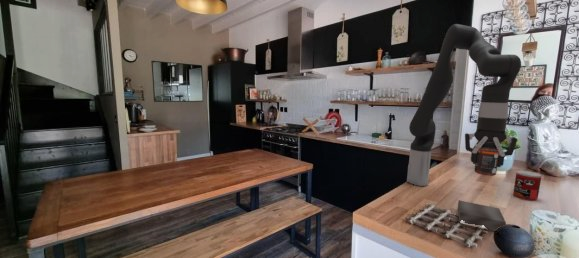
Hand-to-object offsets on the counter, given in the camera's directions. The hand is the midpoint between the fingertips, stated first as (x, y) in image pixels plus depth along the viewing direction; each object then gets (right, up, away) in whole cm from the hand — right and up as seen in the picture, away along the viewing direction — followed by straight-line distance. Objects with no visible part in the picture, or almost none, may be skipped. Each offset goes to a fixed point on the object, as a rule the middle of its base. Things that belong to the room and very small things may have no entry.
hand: (485, 164), depth 84 cm
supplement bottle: (0, -3, 0) cm, 3 cm away
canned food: (+37, -18, +25) cm, 48 cm away
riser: (0, -20, +3) cm, 20 cm away
